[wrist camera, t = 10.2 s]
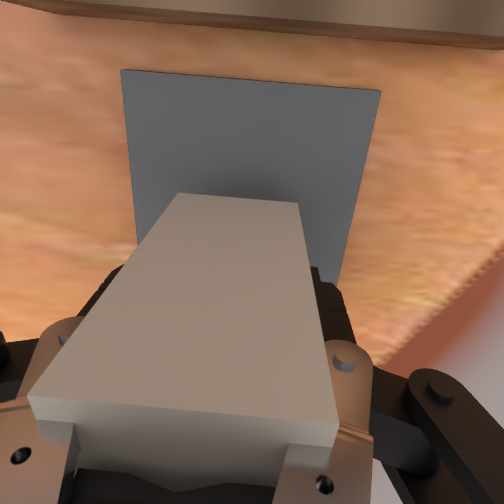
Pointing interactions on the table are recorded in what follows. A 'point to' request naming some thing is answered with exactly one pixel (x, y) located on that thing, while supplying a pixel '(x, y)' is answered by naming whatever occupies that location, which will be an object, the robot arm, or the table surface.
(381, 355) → the table surface
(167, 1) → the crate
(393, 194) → the table surface
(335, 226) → the mat
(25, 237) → the table surface
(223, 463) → the block
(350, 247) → the table surface
